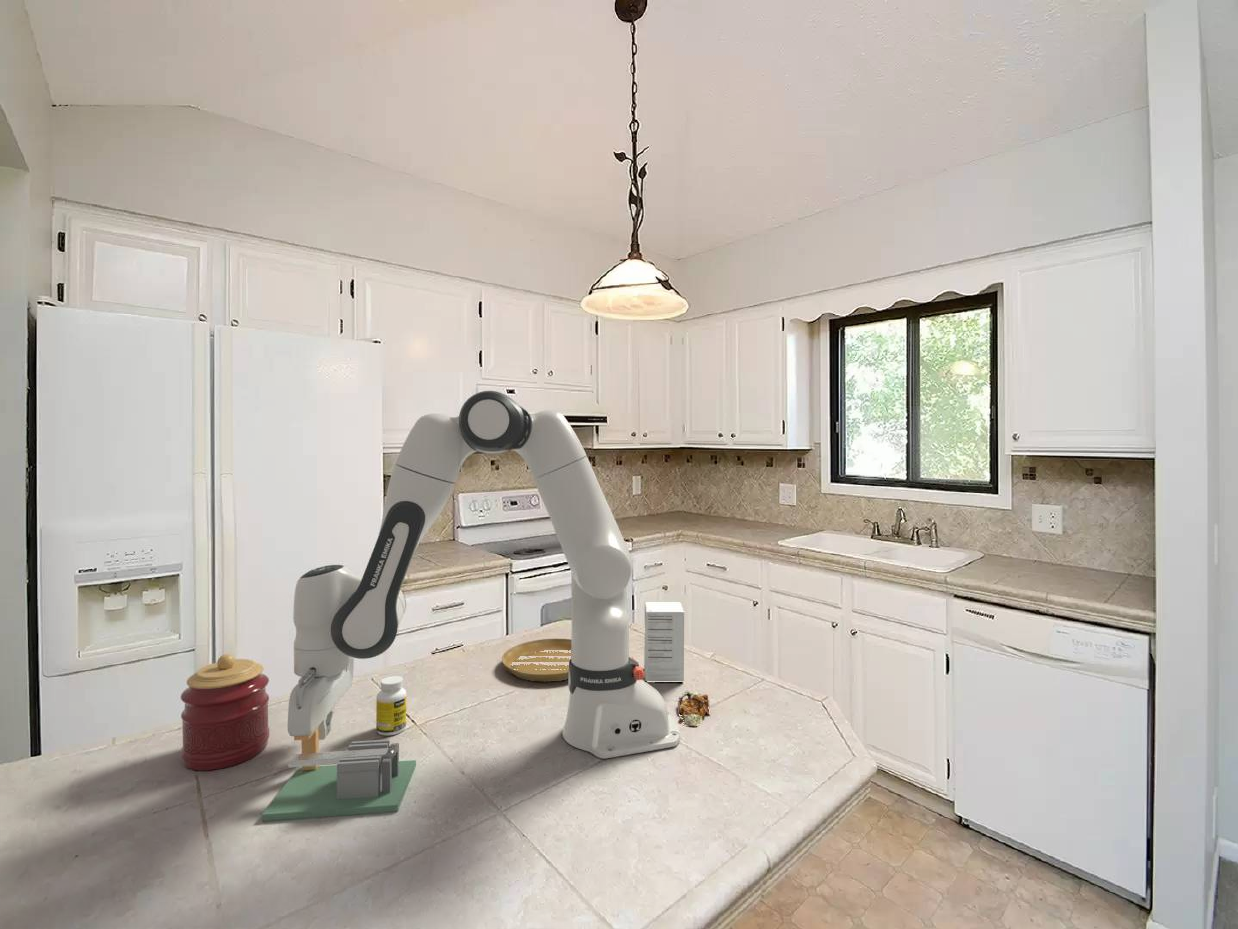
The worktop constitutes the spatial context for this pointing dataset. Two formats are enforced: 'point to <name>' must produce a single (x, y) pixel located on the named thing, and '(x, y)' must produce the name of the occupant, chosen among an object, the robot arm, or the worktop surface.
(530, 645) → the plant saucer
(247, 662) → the canister
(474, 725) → the worktop surface
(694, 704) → the pastry
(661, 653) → the supplement box
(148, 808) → the worktop surface
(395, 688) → the supplement bottle
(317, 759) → the strap
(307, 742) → the bracket
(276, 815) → the heatsink base
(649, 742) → the robot arm
